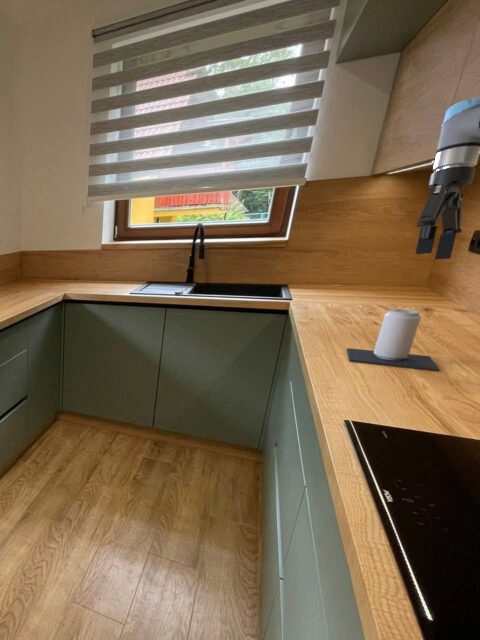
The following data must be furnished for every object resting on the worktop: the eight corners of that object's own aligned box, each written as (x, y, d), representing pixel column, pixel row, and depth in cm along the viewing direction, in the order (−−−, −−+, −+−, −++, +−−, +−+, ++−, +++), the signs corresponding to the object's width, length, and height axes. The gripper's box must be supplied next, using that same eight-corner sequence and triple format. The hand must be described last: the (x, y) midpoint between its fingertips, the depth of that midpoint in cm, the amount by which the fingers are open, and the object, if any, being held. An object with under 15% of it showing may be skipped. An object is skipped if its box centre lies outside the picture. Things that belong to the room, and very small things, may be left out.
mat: (428, 358, 108) (429, 356, 108) (439, 371, 100) (439, 369, 99) (346, 350, 118) (347, 348, 117) (349, 361, 109) (349, 359, 109)
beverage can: (400, 355, 110) (415, 308, 106) (411, 362, 104) (428, 313, 100) (368, 353, 112) (381, 307, 108) (378, 360, 107) (392, 312, 103)
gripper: (449, 182, 117) (430, 261, 121) (413, 163, 105) (394, 252, 109) (491, 175, 110) (470, 259, 114) (457, 154, 99) (435, 249, 103)
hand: (433, 256), depth 112 cm, fingers open, 13 cm apart
